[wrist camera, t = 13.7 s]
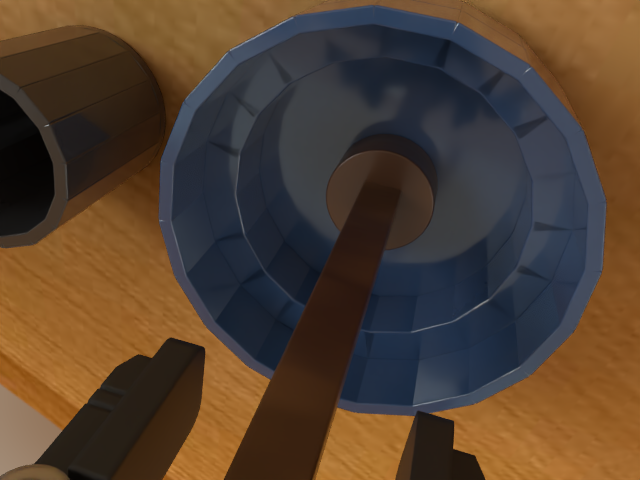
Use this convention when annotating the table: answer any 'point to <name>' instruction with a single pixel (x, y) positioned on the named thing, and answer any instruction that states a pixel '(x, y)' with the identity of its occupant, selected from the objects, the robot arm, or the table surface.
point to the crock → (70, 126)
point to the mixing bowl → (449, 211)
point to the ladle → (337, 305)
